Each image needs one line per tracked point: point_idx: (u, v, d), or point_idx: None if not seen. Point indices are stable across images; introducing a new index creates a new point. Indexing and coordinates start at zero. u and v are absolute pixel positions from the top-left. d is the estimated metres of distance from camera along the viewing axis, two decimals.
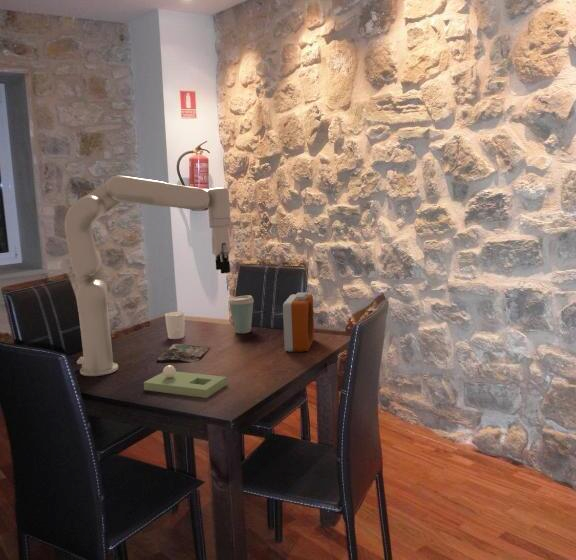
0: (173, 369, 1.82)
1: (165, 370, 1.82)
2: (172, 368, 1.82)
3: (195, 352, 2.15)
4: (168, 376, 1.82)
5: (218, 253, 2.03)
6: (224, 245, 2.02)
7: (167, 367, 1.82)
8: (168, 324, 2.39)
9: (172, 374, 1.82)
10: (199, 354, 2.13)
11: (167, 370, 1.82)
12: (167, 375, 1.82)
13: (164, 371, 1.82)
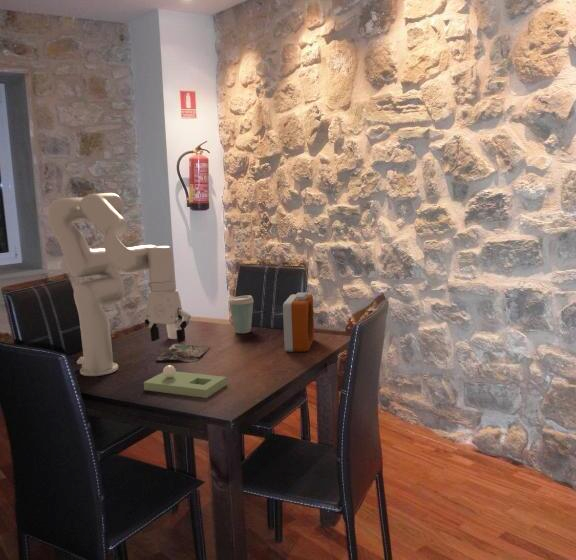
0: (173, 369, 1.82)
1: (165, 370, 1.82)
2: (172, 368, 1.82)
3: (194, 352, 2.14)
4: (168, 376, 1.82)
5: (175, 320, 1.77)
6: (181, 310, 1.78)
7: (167, 367, 1.82)
8: (168, 324, 2.39)
9: (172, 374, 1.82)
10: (198, 354, 2.13)
11: (167, 370, 1.82)
12: (167, 375, 1.82)
13: (164, 371, 1.82)
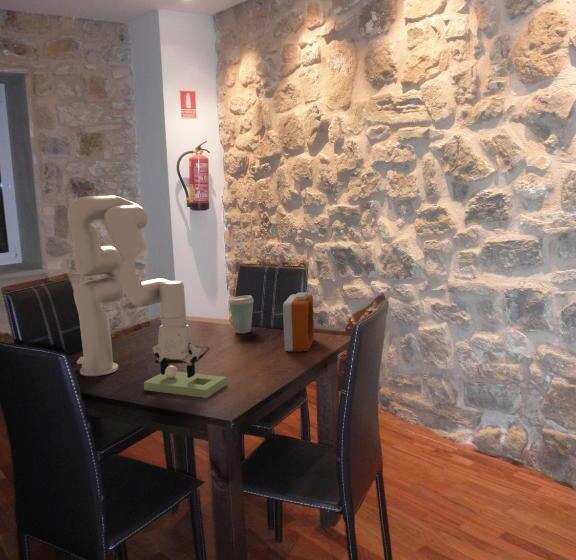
0: (176, 371, 1.82)
1: (168, 370, 1.81)
2: (175, 370, 1.82)
3: None
4: (169, 377, 1.82)
5: (186, 356, 1.77)
6: (191, 345, 1.78)
7: (171, 368, 1.82)
8: None
9: (173, 376, 1.82)
10: None
11: (170, 371, 1.81)
12: (168, 376, 1.82)
13: (167, 371, 1.82)
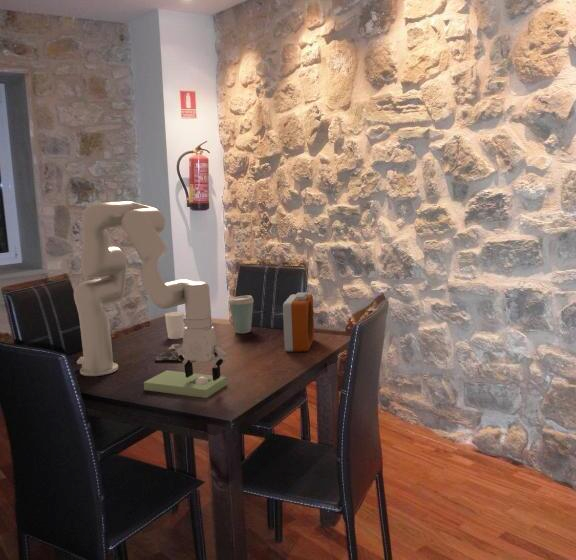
0: (204, 378, 1.78)
1: (197, 382, 1.78)
2: (203, 377, 1.78)
3: None
4: None
5: (211, 358, 1.74)
6: (217, 348, 1.75)
7: (198, 379, 1.78)
8: (168, 324, 2.39)
9: (205, 383, 1.78)
10: None
11: (198, 381, 1.77)
12: None
13: None
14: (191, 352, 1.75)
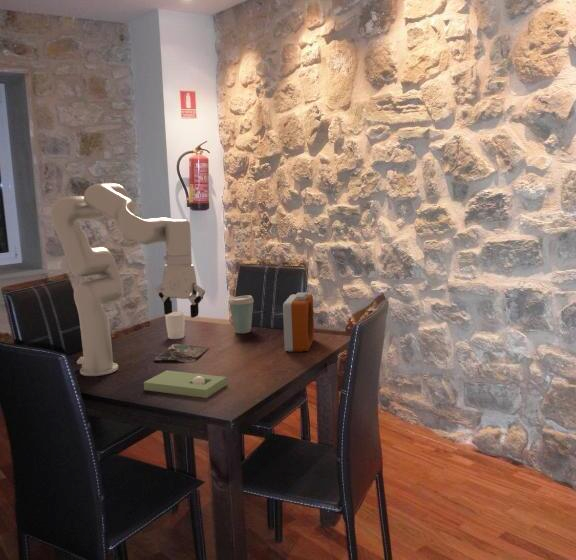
0: (197, 376, 1.79)
1: (193, 383, 1.78)
2: None
3: (192, 352, 2.14)
4: None
5: (190, 295, 1.76)
6: (196, 285, 1.77)
7: None
8: (168, 324, 2.39)
9: (200, 379, 1.78)
10: (196, 355, 2.13)
11: (193, 381, 1.78)
12: None
13: None
14: (170, 289, 1.78)
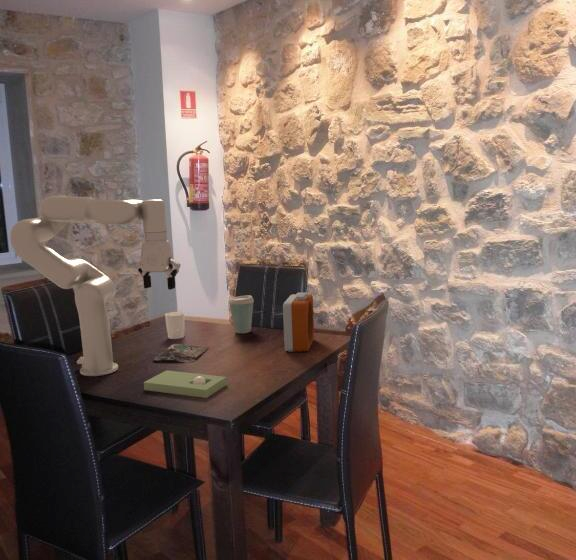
0: (199, 376, 1.79)
1: (193, 383, 1.78)
2: None
3: (192, 353, 2.14)
4: (200, 384, 1.78)
5: (166, 268, 1.91)
6: (172, 259, 1.92)
7: (193, 380, 1.79)
8: (168, 324, 2.39)
9: (201, 380, 1.78)
10: (195, 355, 2.12)
11: (194, 381, 1.78)
12: None
13: None
14: (148, 263, 1.92)
